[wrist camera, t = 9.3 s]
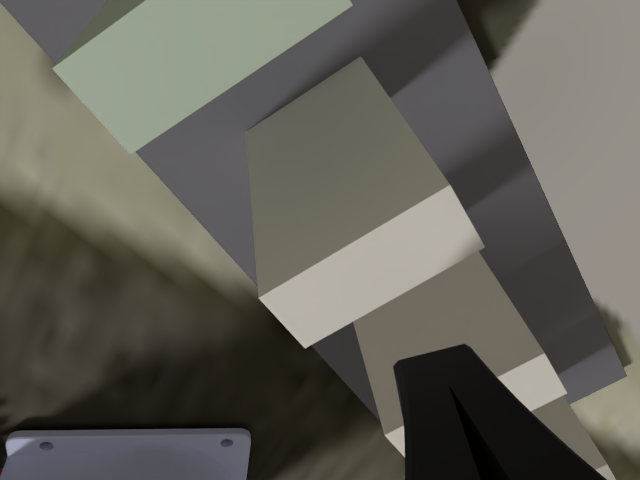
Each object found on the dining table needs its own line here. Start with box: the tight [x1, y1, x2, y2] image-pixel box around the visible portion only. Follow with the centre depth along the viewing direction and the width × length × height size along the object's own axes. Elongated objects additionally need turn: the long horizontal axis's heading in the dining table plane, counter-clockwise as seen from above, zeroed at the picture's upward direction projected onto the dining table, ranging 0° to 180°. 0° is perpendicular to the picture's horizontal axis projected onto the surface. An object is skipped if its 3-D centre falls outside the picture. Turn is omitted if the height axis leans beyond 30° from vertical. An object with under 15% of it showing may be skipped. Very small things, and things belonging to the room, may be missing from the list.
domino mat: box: [0, 0, 627, 422], centre depth 20 cm, size 26×10×1 cm, turn 32°
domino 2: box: [353, 251, 567, 457], centre depth 17 cm, size 2×4×8 cm, turn 122°
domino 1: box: [246, 56, 485, 348], centre depth 14 cm, size 2×4×8 cm, turn 122°
